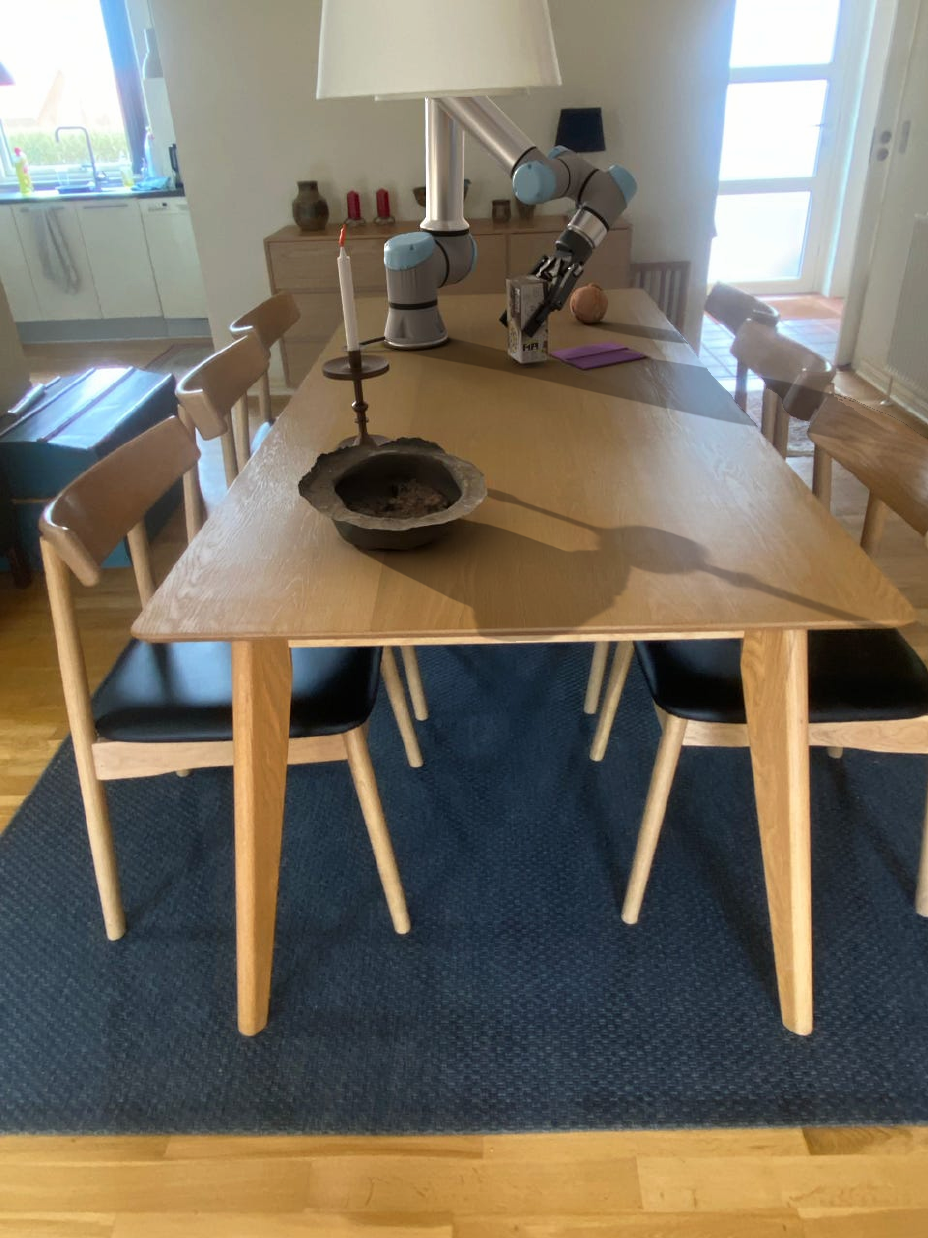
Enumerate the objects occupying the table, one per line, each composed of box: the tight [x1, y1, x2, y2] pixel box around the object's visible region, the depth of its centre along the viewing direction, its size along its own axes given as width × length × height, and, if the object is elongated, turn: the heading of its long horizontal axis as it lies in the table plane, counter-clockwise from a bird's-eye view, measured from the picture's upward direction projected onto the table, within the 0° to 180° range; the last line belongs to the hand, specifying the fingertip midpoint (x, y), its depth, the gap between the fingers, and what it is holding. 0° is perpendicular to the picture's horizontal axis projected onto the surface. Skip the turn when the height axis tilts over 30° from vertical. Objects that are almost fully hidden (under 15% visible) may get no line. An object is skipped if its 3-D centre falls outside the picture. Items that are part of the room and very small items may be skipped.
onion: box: [569, 282, 609, 325], centre depth 205 cm, size 10×9×10 cm
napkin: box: [550, 340, 648, 370], centre depth 182 cm, size 16×14×1 cm
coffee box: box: [506, 274, 550, 364], centre depth 175 cm, size 9×6×16 cm
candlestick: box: [321, 223, 392, 449], centre depth 131 cm, size 11×11×35 cm
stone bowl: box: [297, 436, 488, 551], centre depth 112 cm, size 25×25×9 cm
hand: (514, 328), depth 175 cm, fingers closed on coffee box, 9 cm apart
